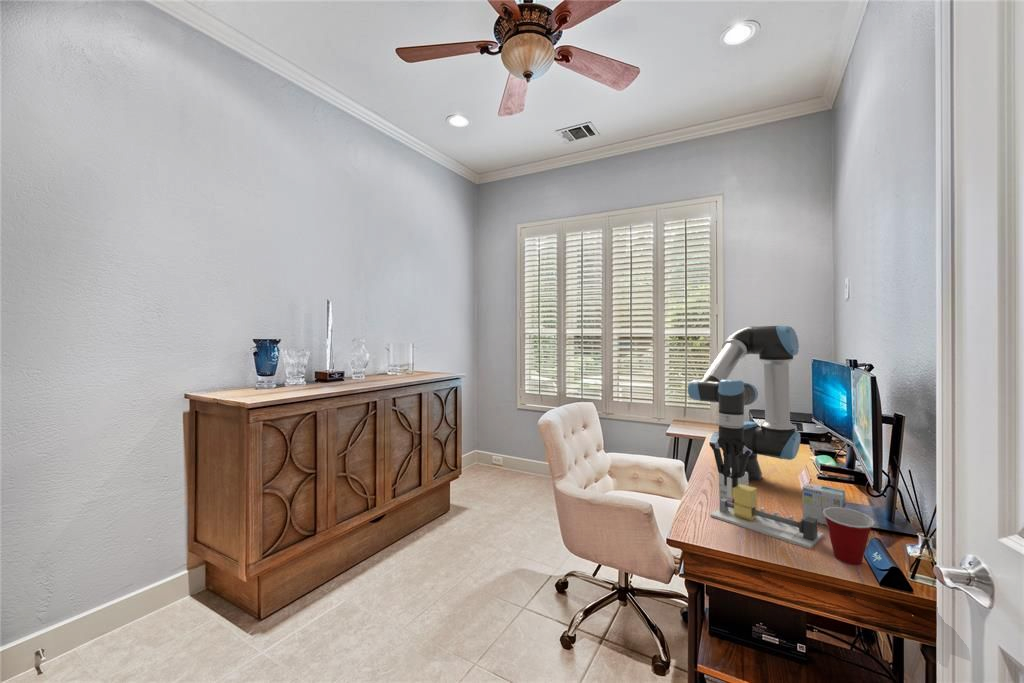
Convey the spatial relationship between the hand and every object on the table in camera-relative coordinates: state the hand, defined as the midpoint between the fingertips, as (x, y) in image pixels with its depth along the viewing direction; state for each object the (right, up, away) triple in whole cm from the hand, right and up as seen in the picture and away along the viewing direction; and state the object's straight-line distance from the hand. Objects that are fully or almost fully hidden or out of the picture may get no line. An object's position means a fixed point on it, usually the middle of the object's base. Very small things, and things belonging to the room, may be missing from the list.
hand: (730, 496), depth 138 cm
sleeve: (+3, -5, -3) cm, 7 cm away
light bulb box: (+28, -7, -4) cm, 29 cm away
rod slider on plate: (+6, -7, -8) cm, 12 cm away
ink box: (+7, -7, +11) cm, 14 cm away
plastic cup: (+17, -7, -28) cm, 33 cm away
